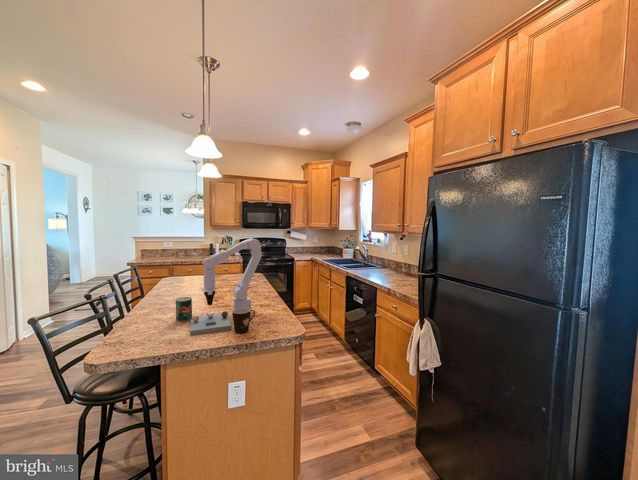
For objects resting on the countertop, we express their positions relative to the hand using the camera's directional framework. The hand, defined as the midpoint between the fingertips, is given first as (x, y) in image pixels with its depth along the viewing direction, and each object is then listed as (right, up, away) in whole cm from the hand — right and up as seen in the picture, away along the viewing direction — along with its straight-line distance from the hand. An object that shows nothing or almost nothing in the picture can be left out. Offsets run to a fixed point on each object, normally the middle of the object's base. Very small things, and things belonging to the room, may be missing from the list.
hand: (209, 304), depth 145 cm
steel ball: (+2, -4, -4) cm, 6 cm away
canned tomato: (-14, -8, 0) cm, 16 cm away
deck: (+4, -8, -9) cm, 13 cm away
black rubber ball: (+9, -4, -3) cm, 11 cm away
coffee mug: (+23, -9, -16) cm, 29 cm away
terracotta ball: (-3, -5, -10) cm, 11 cm away
